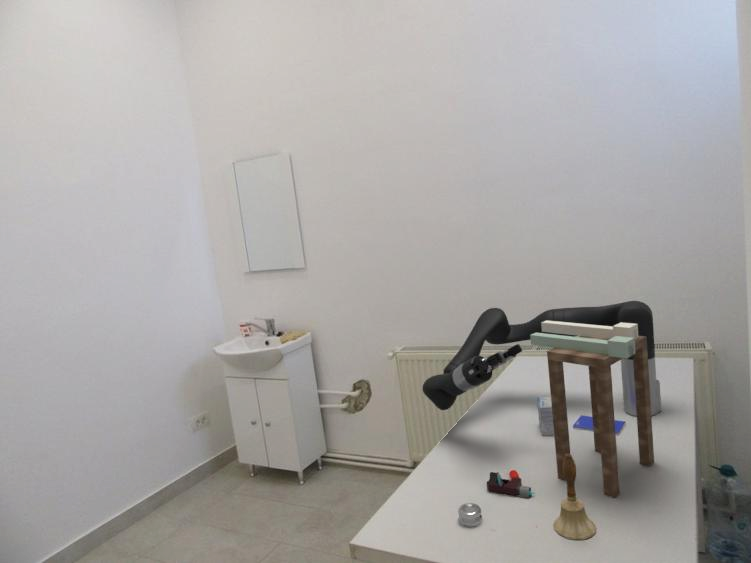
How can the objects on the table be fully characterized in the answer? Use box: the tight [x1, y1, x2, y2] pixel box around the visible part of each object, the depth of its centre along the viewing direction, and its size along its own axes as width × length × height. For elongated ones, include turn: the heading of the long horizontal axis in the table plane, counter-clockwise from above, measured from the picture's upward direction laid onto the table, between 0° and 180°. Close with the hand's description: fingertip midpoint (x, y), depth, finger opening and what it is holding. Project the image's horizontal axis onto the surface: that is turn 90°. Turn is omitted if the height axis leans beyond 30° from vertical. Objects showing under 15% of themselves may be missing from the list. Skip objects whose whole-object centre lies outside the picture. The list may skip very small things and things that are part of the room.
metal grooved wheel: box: [457, 502, 483, 528], centre depth 116 cm, size 5×3×5 cm
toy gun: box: [486, 469, 535, 499], centre depth 127 cm, size 10×12×5 cm
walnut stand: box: [546, 336, 655, 499], centre depth 127 cm, size 14×20×32 cm
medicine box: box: [536, 396, 554, 436], centre depth 154 cm, size 8×4×9 cm, turn 168°
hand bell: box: [552, 453, 597, 541], centre depth 108 cm, size 8×8×16 cm
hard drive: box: [572, 414, 626, 437], centre depth 153 cm, size 2×8×12 cm
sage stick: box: [530, 333, 635, 359], centre depth 122 cm, size 24×4×4 cm, turn 40°
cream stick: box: [541, 320, 638, 340], centre depth 133 cm, size 24×4×4 cm, turn 39°
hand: (510, 351), depth 137 cm, fingers open, 8 cm apart
